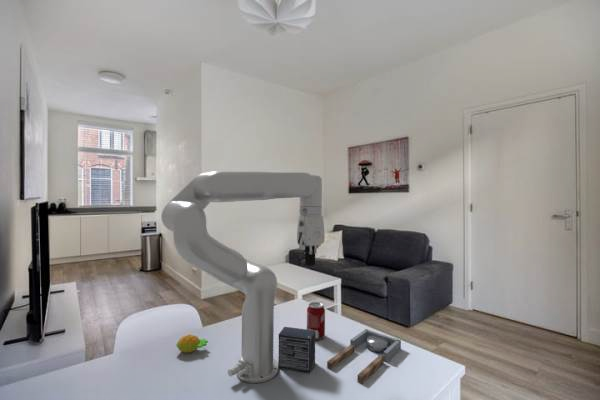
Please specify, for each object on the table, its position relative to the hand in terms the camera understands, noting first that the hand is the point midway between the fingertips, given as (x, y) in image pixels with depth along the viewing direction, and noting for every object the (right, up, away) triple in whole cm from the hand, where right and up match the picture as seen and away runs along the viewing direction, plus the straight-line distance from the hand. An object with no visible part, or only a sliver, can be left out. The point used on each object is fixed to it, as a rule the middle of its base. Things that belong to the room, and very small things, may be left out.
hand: (310, 265), depth 102 cm
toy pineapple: (-40, -29, -1) cm, 49 cm away
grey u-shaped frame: (+22, -29, +1) cm, 37 cm away
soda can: (+2, -29, +10) cm, 31 cm away
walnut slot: (+14, -29, -9) cm, 34 cm away
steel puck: (+23, -30, +2) cm, 38 cm away
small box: (-4, -30, -9) cm, 31 cm away
